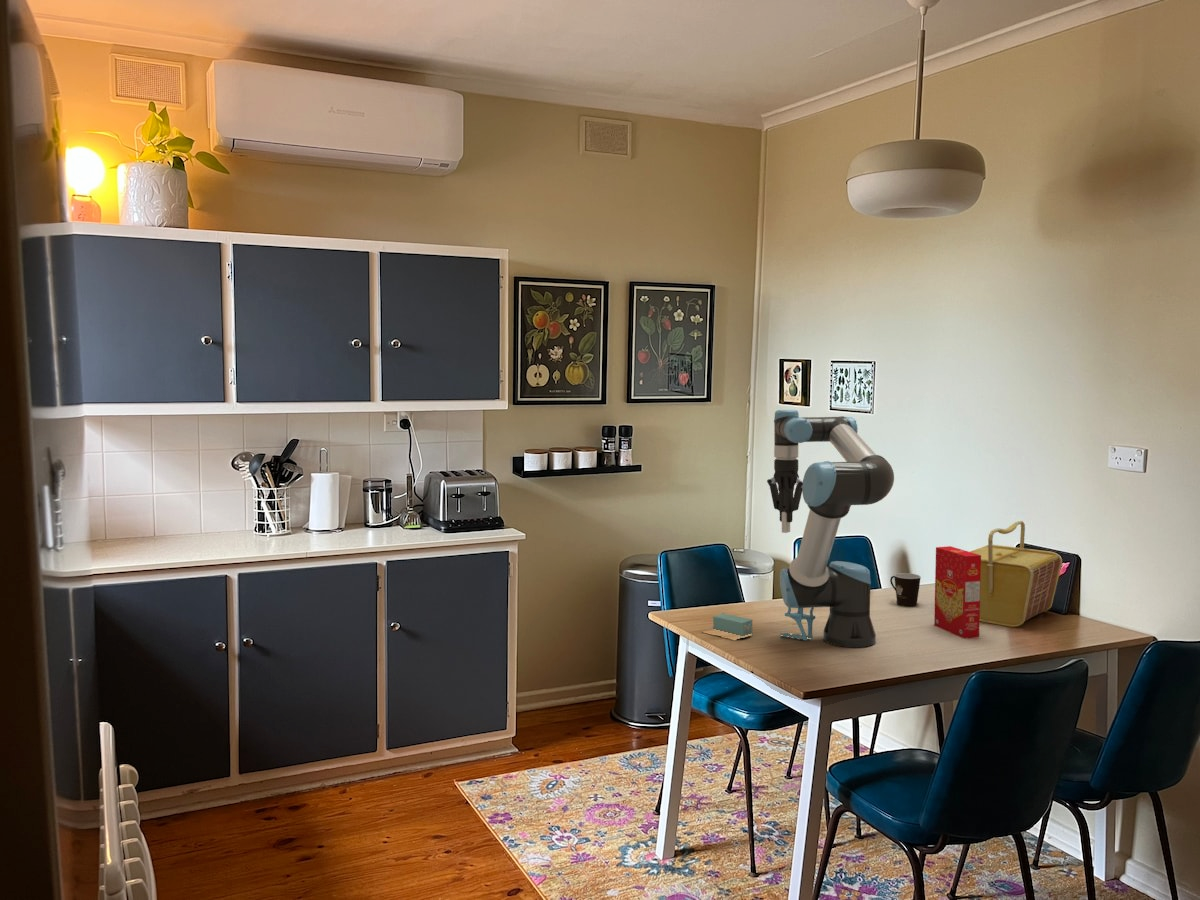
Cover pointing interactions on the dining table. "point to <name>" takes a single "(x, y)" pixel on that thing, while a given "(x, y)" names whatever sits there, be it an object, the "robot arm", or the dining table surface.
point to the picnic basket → (1016, 580)
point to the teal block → (732, 624)
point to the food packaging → (957, 591)
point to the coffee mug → (906, 589)
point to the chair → (798, 618)
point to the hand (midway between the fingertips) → (785, 532)
